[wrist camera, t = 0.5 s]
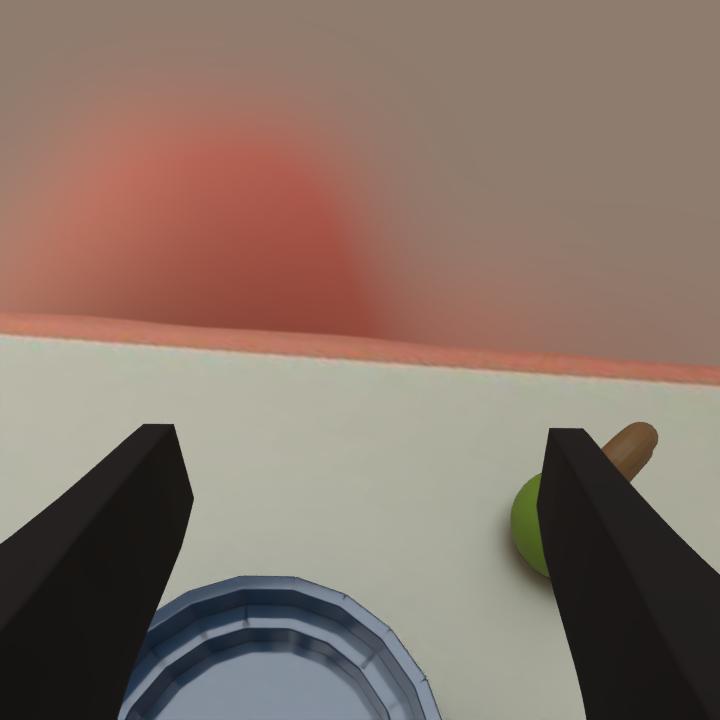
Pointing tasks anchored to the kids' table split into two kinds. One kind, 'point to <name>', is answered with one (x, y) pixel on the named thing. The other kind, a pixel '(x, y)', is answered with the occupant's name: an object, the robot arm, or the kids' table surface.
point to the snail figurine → (622, 450)
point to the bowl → (273, 658)
